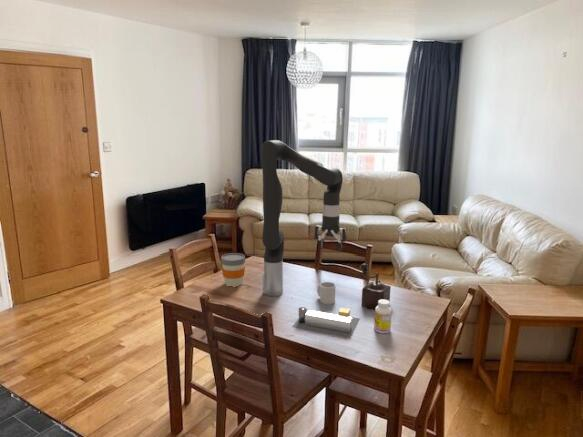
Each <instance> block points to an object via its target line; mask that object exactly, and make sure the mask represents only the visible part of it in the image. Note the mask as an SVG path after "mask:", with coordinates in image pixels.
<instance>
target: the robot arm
mask: <svg viewBox="0 0 583 437" xmlns="http://www.w3.org/2000/svg"><path fill="white" fill-rule="evenodd" d="M260 157H261V158H260V160H261V167H262V168H261V169H262V211H263V226H262V235H261V236H262V237H261V240H262V245H263V246H264V247H265V250H264V255H263V275H262V294H264V295H266V296H268V297H278V296H281V295H282V294H283V293H284V292H283V291H284V288H283V287H284V286H283V285H284V281H283V280H284V278H283V276H284V275H283V274H284V272H283V271H284V270H283V269H284V268H283V267H284V266H283V264H284V261H283V258H284V252H285V250H284V249H285V248H284V247H285V236H284V233H283V231H282V229H281V228H280V216H281V212H282V206H283V187H282V184H281V181H280V179H279V176H278V171H277V161H278V160H280V161H284V162H287V163H289V164H291V165H293V166H294V167H295V168H296V169H298V170H299V171H300V172H301V173H304V174H306V175H308V176H310V177H312V178H314V180H316V181H318V182H319V183H321V184H322V185H324V186H327V187H326V190H325V191H324V193H323V196H322V197H323V199H322V200H323V201H322V202H323V204H322V211H321V213H322V219H321V220H322V221H321V222H322V223H321V225H320V224H317V225H316V226H315V227H314V239H315V240H318V247H319V249H323V243H324V242H323V238H324V237H325V236H326V237H330V238H334V239H336V240H337V242H338V243H337V250H338V251H342V248H343V243H345V242H346V241H347V239H348V238H347V237H348V236H347V227H341V226H340V213H341V212H340V210H341V208H340V195H341V192H342V185H343V179H344V178H343V172H342V171H341V170H340V169H339V168H338V167H337V168H336V167H335V168H334V167H333V168H326V167H325V166H324V165H323V163H321V162H320V161H317V160H315V159H313V158H310V157H308V156H306V155H304V154H302V153H300V152H298V151H296V150H295V149H293V148H291V147H290V146H289V145H287V144H286V143H284V142H283V141H281V140H278V139H272V140H265V141H264V142H263V143H262V145H261V147H260ZM320 230H321V231H322V234H321V235H319V233H320ZM339 232H340V233H341V234H342V236H341V235H340V233H339Z"/></svg>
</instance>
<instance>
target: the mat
mask: <svg viewBox="0 0 583 437" xmlns="http://www.w3.org/2000/svg"><path fill="white" fill-rule="evenodd" d="M308 310H309V309H308V308H306V313H307V311H308ZM311 310H312V311H315V310H313V309H311ZM317 311H318V312H321V311H319V310H317ZM323 312H324V313H326V312H325V311H323ZM328 313H329V314H332V313H330V312H328ZM334 314H335V315H338V314H336V313H334ZM351 317H352V328H351V329H350V332H343V331H338V330H333V329H327V328H322V327H317V326H311V325H306V324H305V323H299V317H298V318H297V319H296V321H295V322H294V324H293V325H292V326H291V327H292V328H295V329H300V330H305V331H310V332H316V333H321V334H326V335H331V336H337V337H341V338H347V339H352V336H353V334H354V332H355V331H356V328H357V326H358V324H359V321H360V320H361V318H360V317H353V316H351Z"/></svg>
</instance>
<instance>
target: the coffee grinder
mask: <svg viewBox="0 0 583 437" xmlns="http://www.w3.org/2000/svg"><path fill="white" fill-rule="evenodd" d="M359 267H360V269H361V272H362V274H363V277H364V278H367V279H368V278H369V279H375V281H370V282H369V283H367V284H366V285H365V286H364V287H362V290H361V306H362V307H364V308H366V309H367V310H371V311H374V312H375V308H376V306H378V301H379V300H381V299H385V300H388V301H389V302H390V301H391V290H392V289H391V287H392V286H391V285H389V284H388V285H386V284H384V283H382V282H381V280H379V277H380V276H379V272H376V273H375V275H367V274H368V273H369V271H368V268H369V265H368V264H367V263H362V264H360V266H359ZM390 303H391V302H390Z"/></svg>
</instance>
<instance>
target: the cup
mask: <svg viewBox="0 0 583 437" xmlns="http://www.w3.org/2000/svg"><path fill="white" fill-rule="evenodd" d="M336 285H337V284H336V283H334V282H332V281H331V282H330V281H324V282H321V283H320V284H318V286H317V294H318V297H319V302H320V303H321V304H324V305H333V304H335V302H336Z"/></svg>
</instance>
